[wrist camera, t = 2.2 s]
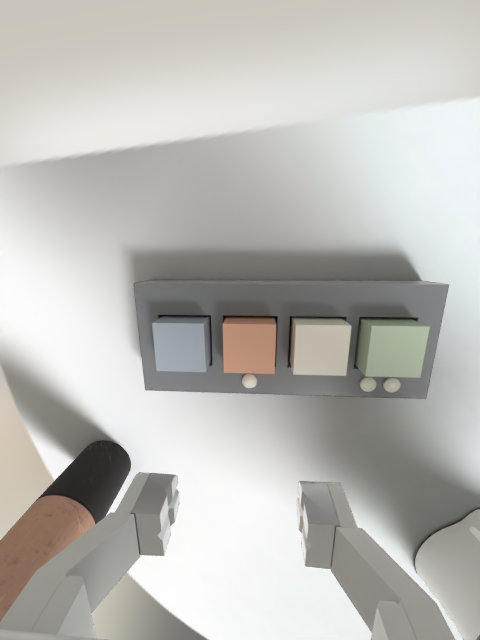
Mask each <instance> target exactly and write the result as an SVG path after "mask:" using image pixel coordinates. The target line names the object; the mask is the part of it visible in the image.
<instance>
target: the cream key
mask: <svg viewBox="0 0 480 640" xmlns="http://www.w3.org/2000/svg"><path fill="white" fill-rule="evenodd" d="M351 327H352V326H351V325H350V324H349V323H347V322H346V321H345V320H343V319H342V318H341V317H324V316H290V334H289V356H288V359H289V362H290V365H291V368H292V372H293V375H332V376H346V372H347V363H348V354H349V345H350V336H351Z"/></svg>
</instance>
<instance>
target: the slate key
mask: <svg viewBox="0 0 480 640" xmlns="http://www.w3.org/2000/svg"><path fill="white" fill-rule="evenodd" d="M152 327H153V338H154V349H155V359H156V370H157V371H176V372H206V371H207V368H208V366H209V364H210V362H211V359H212V332H211V315H164V316H162V317H161V318H159V319H158V320H156V321H154V322H153V323H152Z"/></svg>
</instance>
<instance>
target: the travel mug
mask: <svg viewBox="0 0 480 640" xmlns="http://www.w3.org/2000/svg"><path fill="white" fill-rule="evenodd" d="M130 468H131V461H130V458H129V456H128V454H127V453H126V451H125V450H124V449H123V448H122V447H120V446H119V445H117V444H115V443H113V442H109V441H97V442H94V443H92V444H90V445H89V446H88V447H87V448H86V449H85V450H84V451H83V452H82V453H81V454H80V455H79V456H78V457H77V458H76V459H75V460H74V461H73V462H72V463H71V464H70V465H69V466H68V467H67V468H66V470H65V471H64V472H63V473H62V474H61V475H60V476H59V477H58V478H57V479H56V480H55V481H54V482H53V483H52V485H50V486H49V488H47V490H46V491H45V492H44V493H43V494H42V495H41V496H40V497H39V498H38V499H37V500H36V501H35V502H34V503H33V504H32V506H31V507H30V508H29V509H28V510H27V511H26V512H25V513H24V515H23V516H22V517H21V518H20V519H19V520H18V521H17V523H15V525H14V526H13V527H12V528H11V529H10V530H9V531H8V533H7V534H6V535H5V536H4V537H3V538H2V539H1V540H0V621H1V620H2V619H3V617H4V616H5V614H6V613H7V611H8V610H9V609H10V607H11V606H12V604H13V603H14V602H15V600H16V599H17V597H18V596H19V594H20V593H21V592H22V590H23V589H24V587H25V586H26V585H27V583H28V582H29V580H30V579H31V577H32V576H33V575H34V573H35V572H36V571H37V570H38V569H39V568H40V567H42V566H43V565H44V564H46V563H47V562H48V561H49V560H51V559H52V558H53V557H54V556H56V555H57V554H58V553H60V552H61V551H62V550H63V549H65V548H66V547H67V546H69V545H70V544H71V543H72V542H74V541H75V540H76V539H78V538H79V537H80V536H81V535H83V534H84V533H85V532H87V531H88V530H89V529H90V528H92V527H93V526H94V525H96V524H97V523H98V522H99V521H101V520H102V519H103V518H105V516H106V514H107V512H108V511H109V509H110V507H111V505H112V503H113V501H114V500H115V498H116V496H117V494H118V492H119V490H120V489H121V487H122V485H123V483H124V481H125V479H126V477H127V476H128V474H129V471H130Z"/></svg>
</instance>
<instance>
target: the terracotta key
mask: <svg viewBox="0 0 480 640" xmlns="http://www.w3.org/2000/svg"><path fill="white" fill-rule="evenodd" d="M275 349H276V322H275V318H274V316H231V315H227V316H226V318H225V320H224V322H223V360H224V373H254V374H275Z"/></svg>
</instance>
